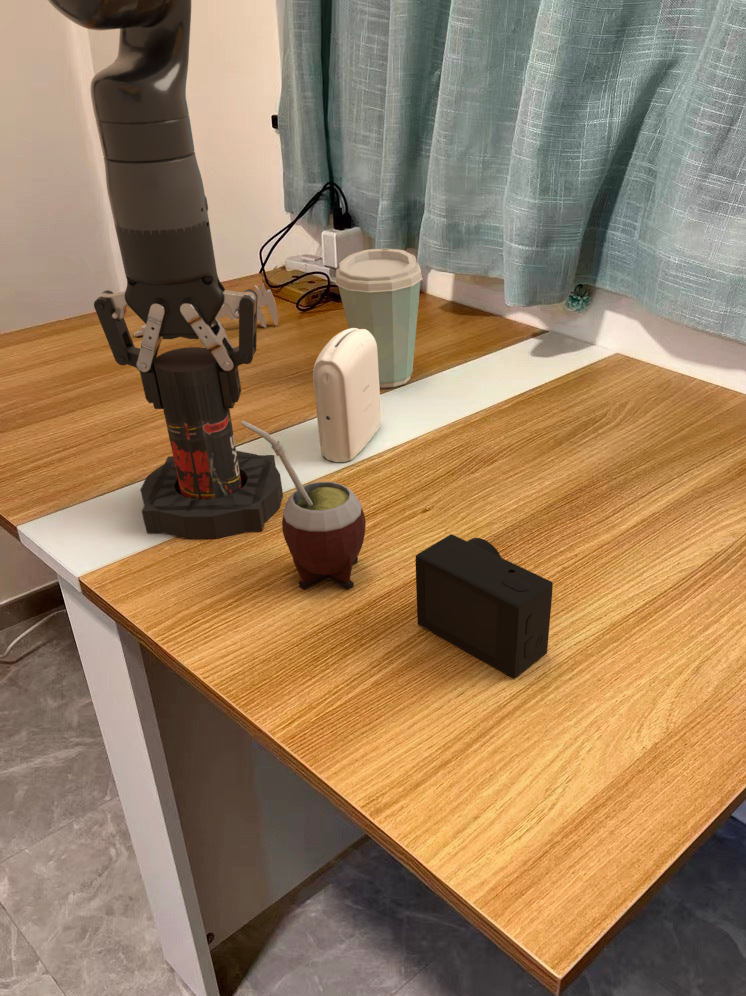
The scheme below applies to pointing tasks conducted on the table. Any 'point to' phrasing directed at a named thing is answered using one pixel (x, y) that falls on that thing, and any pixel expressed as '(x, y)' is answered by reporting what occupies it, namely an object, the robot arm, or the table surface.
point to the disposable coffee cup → (383, 306)
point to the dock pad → (212, 502)
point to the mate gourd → (320, 526)
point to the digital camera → (483, 603)
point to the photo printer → (347, 394)
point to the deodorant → (198, 423)
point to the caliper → (262, 300)
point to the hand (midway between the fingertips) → (196, 404)
